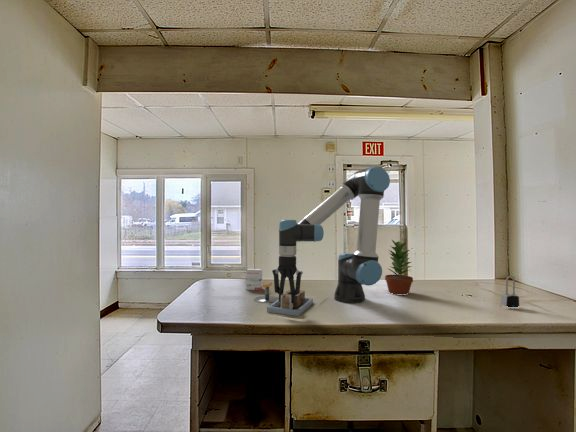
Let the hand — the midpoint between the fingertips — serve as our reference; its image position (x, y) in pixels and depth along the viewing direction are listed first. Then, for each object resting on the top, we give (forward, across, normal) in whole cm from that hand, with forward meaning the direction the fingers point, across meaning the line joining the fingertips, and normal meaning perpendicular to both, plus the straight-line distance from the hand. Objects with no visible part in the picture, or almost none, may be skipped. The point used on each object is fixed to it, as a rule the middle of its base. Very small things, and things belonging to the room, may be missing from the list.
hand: (286, 309), depth 134 cm
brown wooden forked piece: (-1, 0, +6) cm, 6 cm away
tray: (+1, 0, +5) cm, 5 cm away
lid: (+1, -15, +12) cm, 19 cm away
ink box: (+1, -31, +29) cm, 43 cm away
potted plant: (+1, +44, +57) cm, 72 cm away
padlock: (+1, +93, +48) cm, 105 cm away
